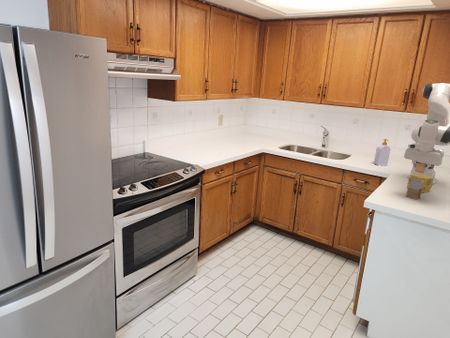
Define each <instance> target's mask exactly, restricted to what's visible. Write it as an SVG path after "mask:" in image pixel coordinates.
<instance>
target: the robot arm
mask: <svg viewBox="0 0 450 338" xmlns="http://www.w3.org/2000/svg"><path fill="white" fill-rule="evenodd" d="M421 92H422V93H421V94H422V97H423V99H426V100H427V107H428V111H427V115H426V119H424V121H423V123H422V125H421V126H419V127H415V128H414V129H413V130H412V131H411V134H410V136H411V139H412V141H414V143H409V144H408V146H407V148H406V149H405V152H404V155H403V158H404V159H405V160H410V161H411V164H412V167H411V170H410V174H409V175H407V178H409V177H410V175H414V174H421V175H424V176H428V177H432V178H433V184H432V185H435V184H436V183H437V181H438V178H435V177H436V171H435V169H434V168H435V167H439V166H441V165H442V163H443V157H444V155H445V153H444V151H442V149H437V148H435V146H449V145H450V83H446V82H440V83H439V82H438V83H431V82H430V83H427V84H426V85H424V87H423V89H422V91H421ZM416 163H423V164H426V166H425V168H424V173H419V172H415V167H416Z"/></svg>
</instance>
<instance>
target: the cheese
mask: <svg viewBox="0 0 450 338" xmlns="http://www.w3.org/2000/svg"><path fill="white" fill-rule="evenodd" d="M409 175H410V174H409ZM414 179H415V180H419V181H423V183H422V187H421V189H422V192H421V194H422V193H428V192H429V193H430V192H431V190H432V189H431V188H432V187H433V185H434V184H433V178H432V177H428V176H424V175H421V174H414V175H410V177H408V180H407V181H408V182H407V186H406V188H407V189H408V188H409V187H410V183H411V180H414Z"/></svg>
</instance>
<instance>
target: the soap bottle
mask: <svg viewBox="0 0 450 338" xmlns="http://www.w3.org/2000/svg"><path fill="white" fill-rule="evenodd" d="M382 140H384V141H383V142H382V144H379V145H378V146H377V147H376V150H375V155H374V161H373V164H374V165H375V164H376V165H375V166H378V165H381V166H380V167H387V166H388V163H389V158H390V153H391V147H390V146H388V142H389V139H386V138H385V139H382ZM383 165H384V166H383Z"/></svg>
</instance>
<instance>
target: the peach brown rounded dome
mask: <svg viewBox="0 0 450 338" xmlns="http://www.w3.org/2000/svg"><path fill="white" fill-rule="evenodd" d="M425 166H426V164H423V163H416V167H415V172H419V173H424V168H425Z"/></svg>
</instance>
